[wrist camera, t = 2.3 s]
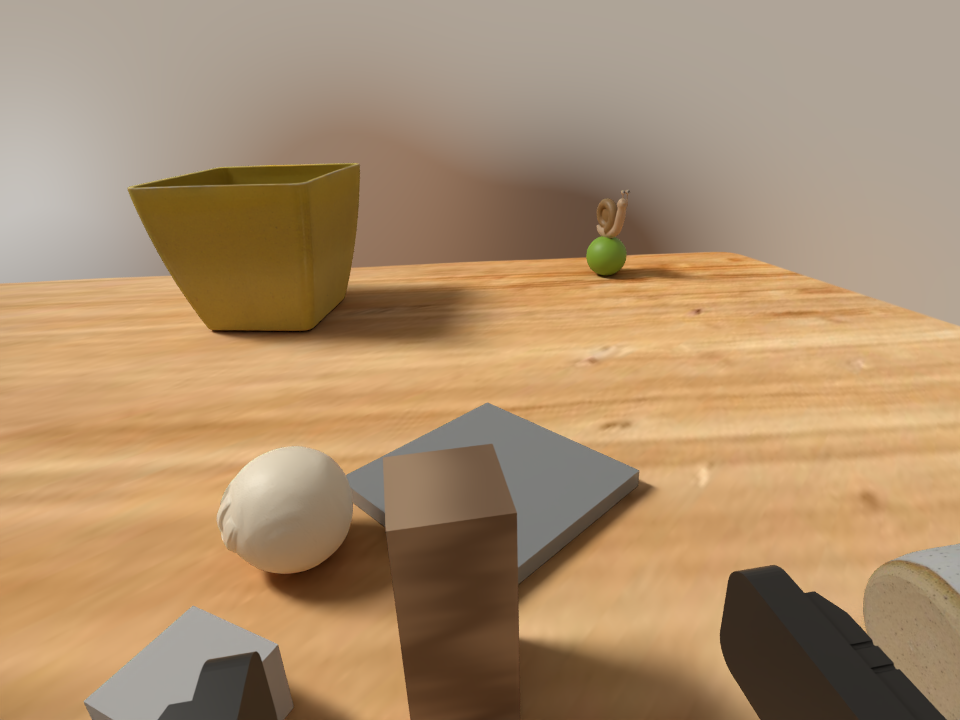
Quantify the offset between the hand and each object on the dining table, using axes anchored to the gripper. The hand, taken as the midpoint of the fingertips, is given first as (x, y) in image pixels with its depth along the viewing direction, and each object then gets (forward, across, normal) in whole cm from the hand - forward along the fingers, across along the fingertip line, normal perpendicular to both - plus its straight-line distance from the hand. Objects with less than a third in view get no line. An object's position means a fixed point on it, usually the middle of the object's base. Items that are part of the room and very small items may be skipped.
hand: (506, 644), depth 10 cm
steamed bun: (+22, +8, +16) cm, 28 cm away
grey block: (+11, +11, +16) cm, 22 cm away
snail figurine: (+70, -29, +15) cm, 77 cm away
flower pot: (+66, +15, +15) cm, 69 cm away
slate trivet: (+25, -4, +16) cm, 30 cm away
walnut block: (+12, 0, +16) cm, 19 cm away
